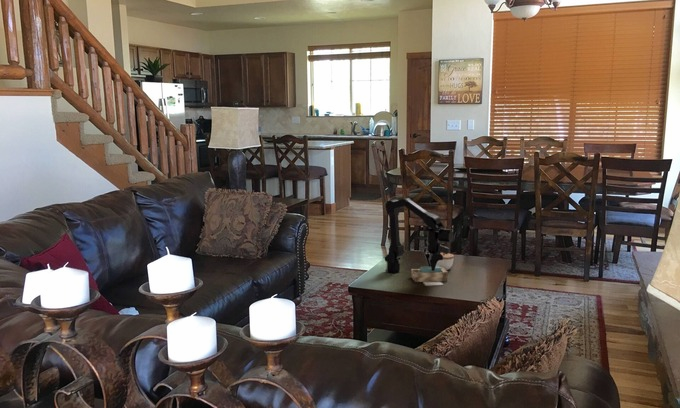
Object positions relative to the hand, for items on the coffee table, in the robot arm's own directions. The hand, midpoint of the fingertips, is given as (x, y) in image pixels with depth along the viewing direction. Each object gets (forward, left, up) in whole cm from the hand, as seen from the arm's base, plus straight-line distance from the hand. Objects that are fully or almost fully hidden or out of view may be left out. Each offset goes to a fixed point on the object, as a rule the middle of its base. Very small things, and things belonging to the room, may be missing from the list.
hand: (431, 269), depth 295 cm
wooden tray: (-1, 0, -5) cm, 5 cm away
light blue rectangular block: (-1, 0, -3) cm, 3 cm away
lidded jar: (+12, +20, -6) cm, 24 cm away
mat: (-2, -8, -5) cm, 10 cm away
